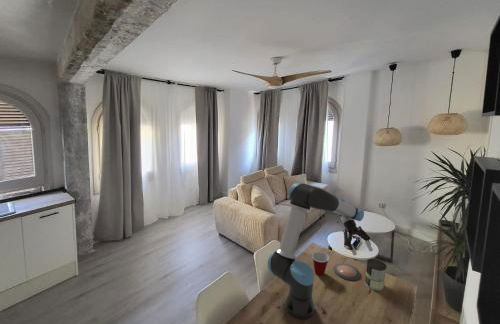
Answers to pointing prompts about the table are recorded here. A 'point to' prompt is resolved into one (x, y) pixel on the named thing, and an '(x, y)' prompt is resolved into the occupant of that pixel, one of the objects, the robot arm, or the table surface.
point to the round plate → (346, 271)
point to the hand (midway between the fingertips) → (363, 253)
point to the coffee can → (375, 274)
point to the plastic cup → (320, 262)
